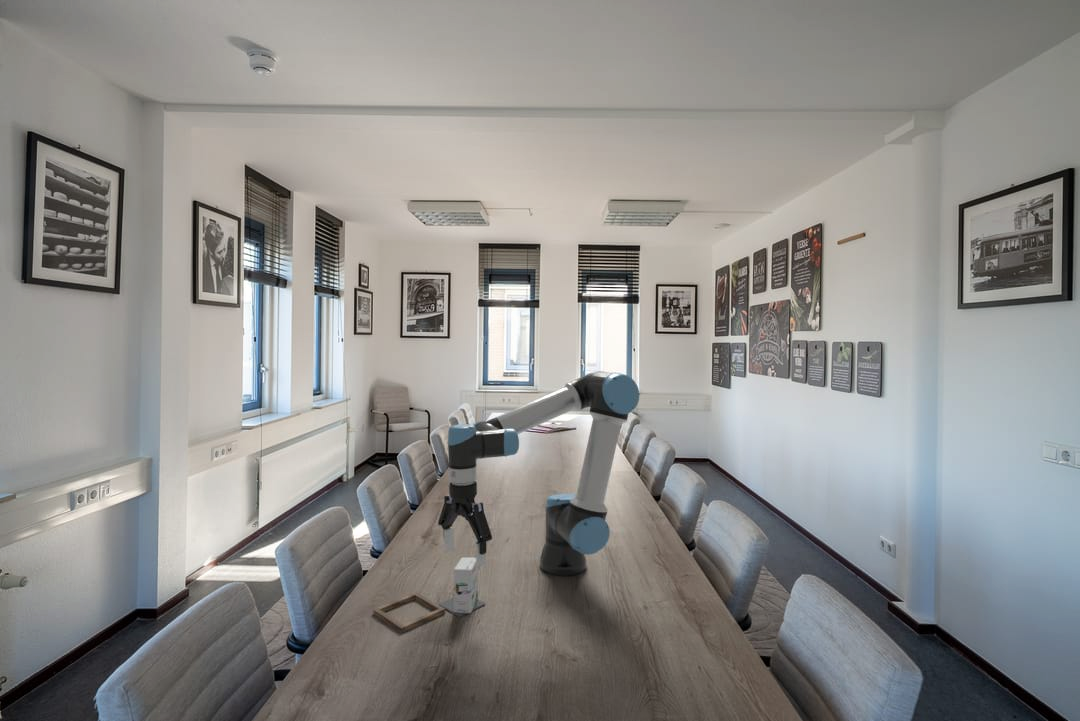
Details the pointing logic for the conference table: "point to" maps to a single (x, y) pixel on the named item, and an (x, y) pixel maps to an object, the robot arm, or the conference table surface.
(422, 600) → the walnut holder
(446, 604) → the felt mat
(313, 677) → the conference table surface
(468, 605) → the ink box
